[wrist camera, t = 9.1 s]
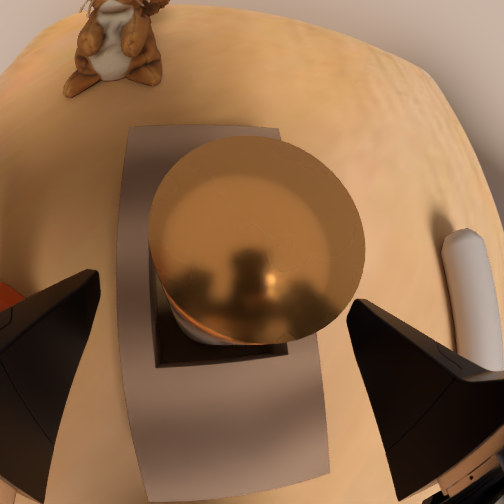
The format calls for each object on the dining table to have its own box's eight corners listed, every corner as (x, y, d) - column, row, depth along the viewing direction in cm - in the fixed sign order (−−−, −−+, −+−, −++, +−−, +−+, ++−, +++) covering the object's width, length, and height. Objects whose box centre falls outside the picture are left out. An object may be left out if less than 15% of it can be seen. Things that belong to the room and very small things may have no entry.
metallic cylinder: (260, 317, 18) (396, 257, 6) (202, 359, 17) (242, 394, 5) (219, 259, 19) (281, 114, 7) (159, 297, 17) (109, 192, 5)
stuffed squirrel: (60, 105, 20) (31, -8, 8) (101, 35, 24) (98, -49, 12) (156, 99, 22) (162, -33, 10) (176, 31, 27) (188, -57, 14)
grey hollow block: (303, 453, 16) (330, 472, 12) (154, 473, 13) (149, 501, 10) (263, 161, 22) (278, 128, 18) (135, 161, 20) (129, 126, 16)
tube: (450, 222, 21) (469, 481, 13) (488, 218, 20) (507, 458, 13) (426, 242, 26) (445, 465, 18) (462, 236, 25) (481, 447, 18)
